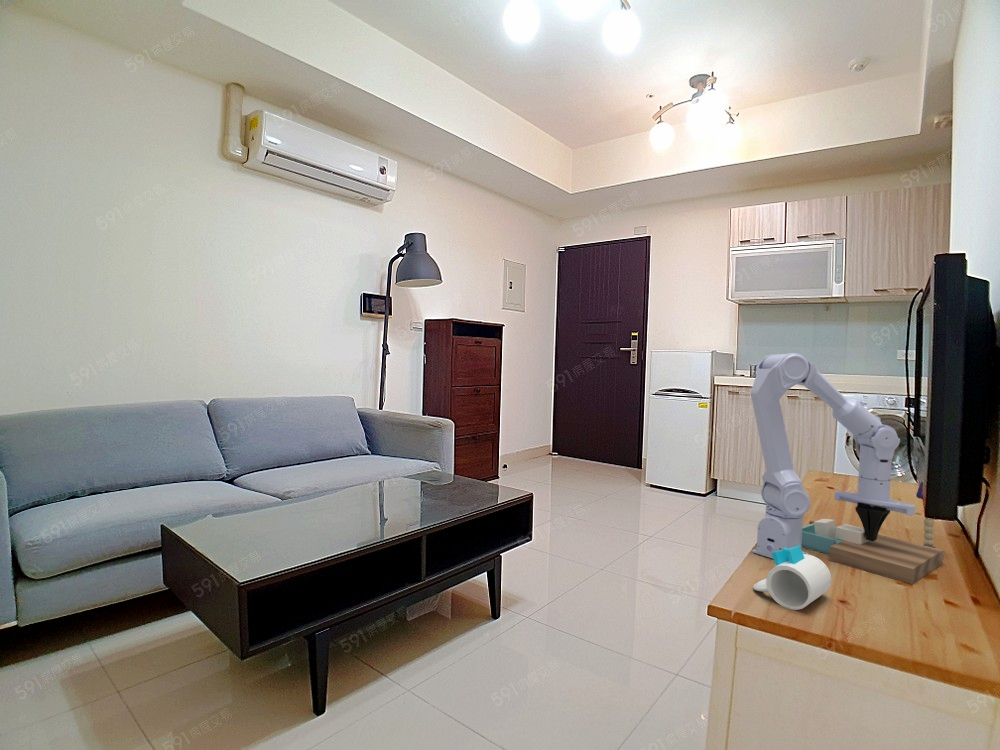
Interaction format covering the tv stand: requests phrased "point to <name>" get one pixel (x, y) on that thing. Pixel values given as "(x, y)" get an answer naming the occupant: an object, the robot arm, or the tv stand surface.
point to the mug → (795, 578)
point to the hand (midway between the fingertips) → (871, 539)
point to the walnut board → (889, 558)
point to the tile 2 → (851, 534)
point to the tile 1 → (825, 528)
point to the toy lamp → (926, 523)
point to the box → (816, 540)
